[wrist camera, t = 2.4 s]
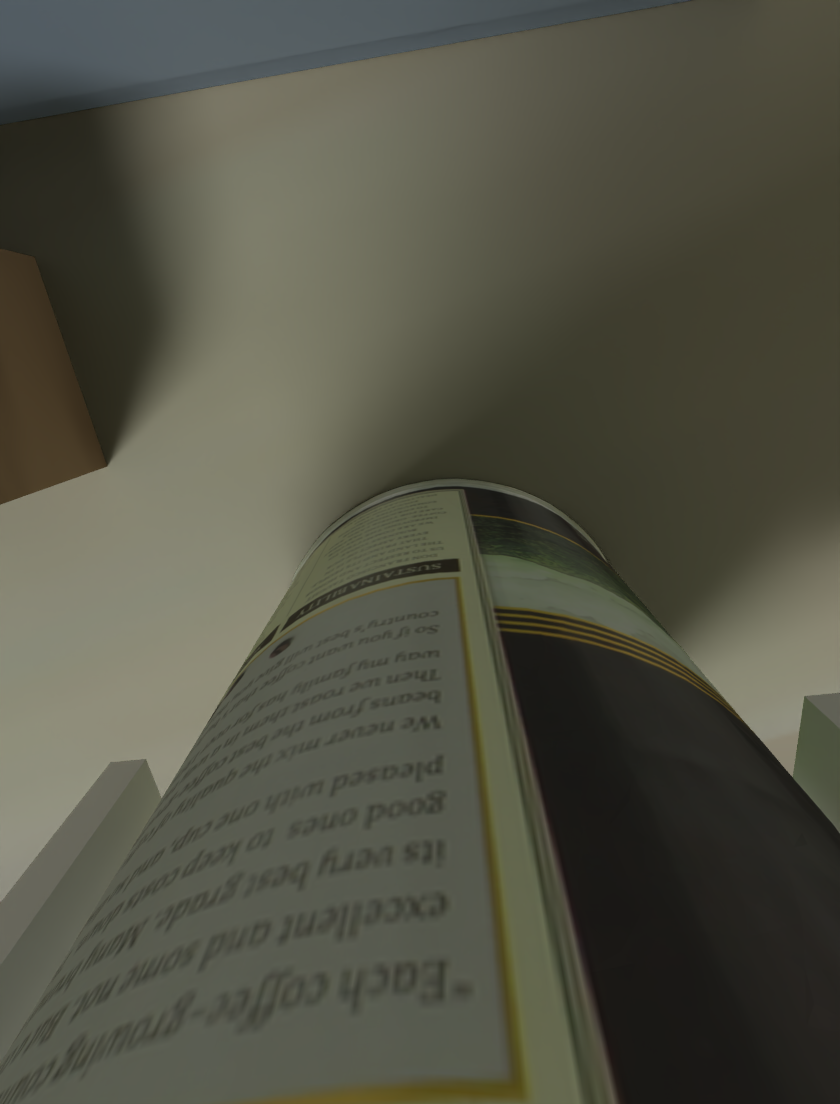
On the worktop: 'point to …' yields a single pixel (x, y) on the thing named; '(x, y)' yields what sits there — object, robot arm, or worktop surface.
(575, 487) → the worktop surface
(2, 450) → the brown wooden cube
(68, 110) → the tote
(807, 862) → the coffee can
